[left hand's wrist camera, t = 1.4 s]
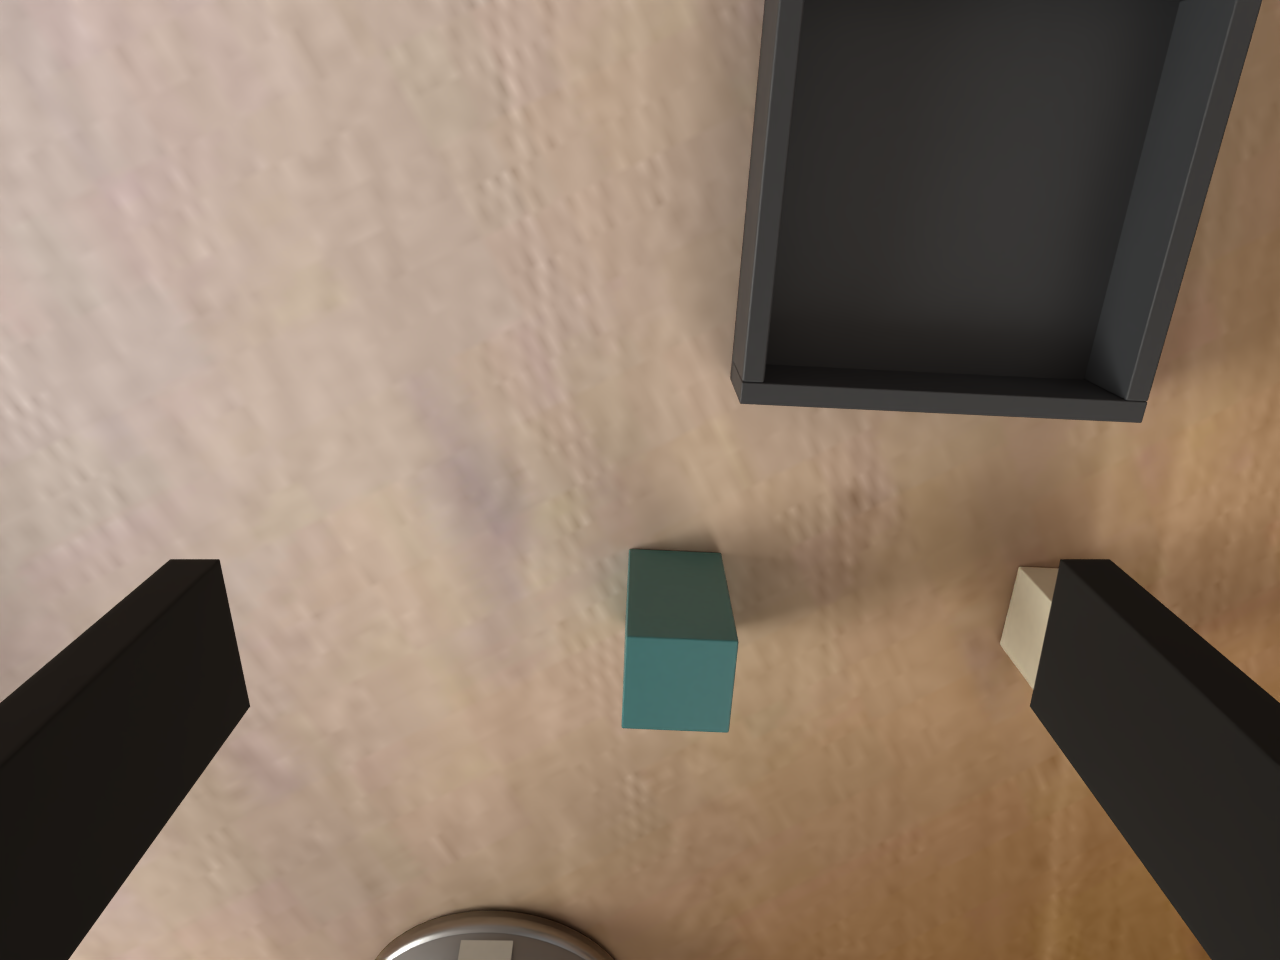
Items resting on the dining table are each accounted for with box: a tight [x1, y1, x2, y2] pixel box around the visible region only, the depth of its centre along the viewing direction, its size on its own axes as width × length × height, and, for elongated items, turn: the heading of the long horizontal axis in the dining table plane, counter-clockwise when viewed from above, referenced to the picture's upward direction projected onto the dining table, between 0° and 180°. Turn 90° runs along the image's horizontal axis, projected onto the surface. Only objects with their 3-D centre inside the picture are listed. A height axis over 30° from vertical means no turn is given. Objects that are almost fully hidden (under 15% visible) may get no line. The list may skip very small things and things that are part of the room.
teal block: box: [622, 549, 738, 732], centre depth 33 cm, size 4×4×7 cm
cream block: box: [1000, 567, 1059, 689], centre depth 33 cm, size 4×4×7 cm
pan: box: [730, 0, 1262, 423], centre depth 26 cm, size 25×15×5 cm, turn 177°
